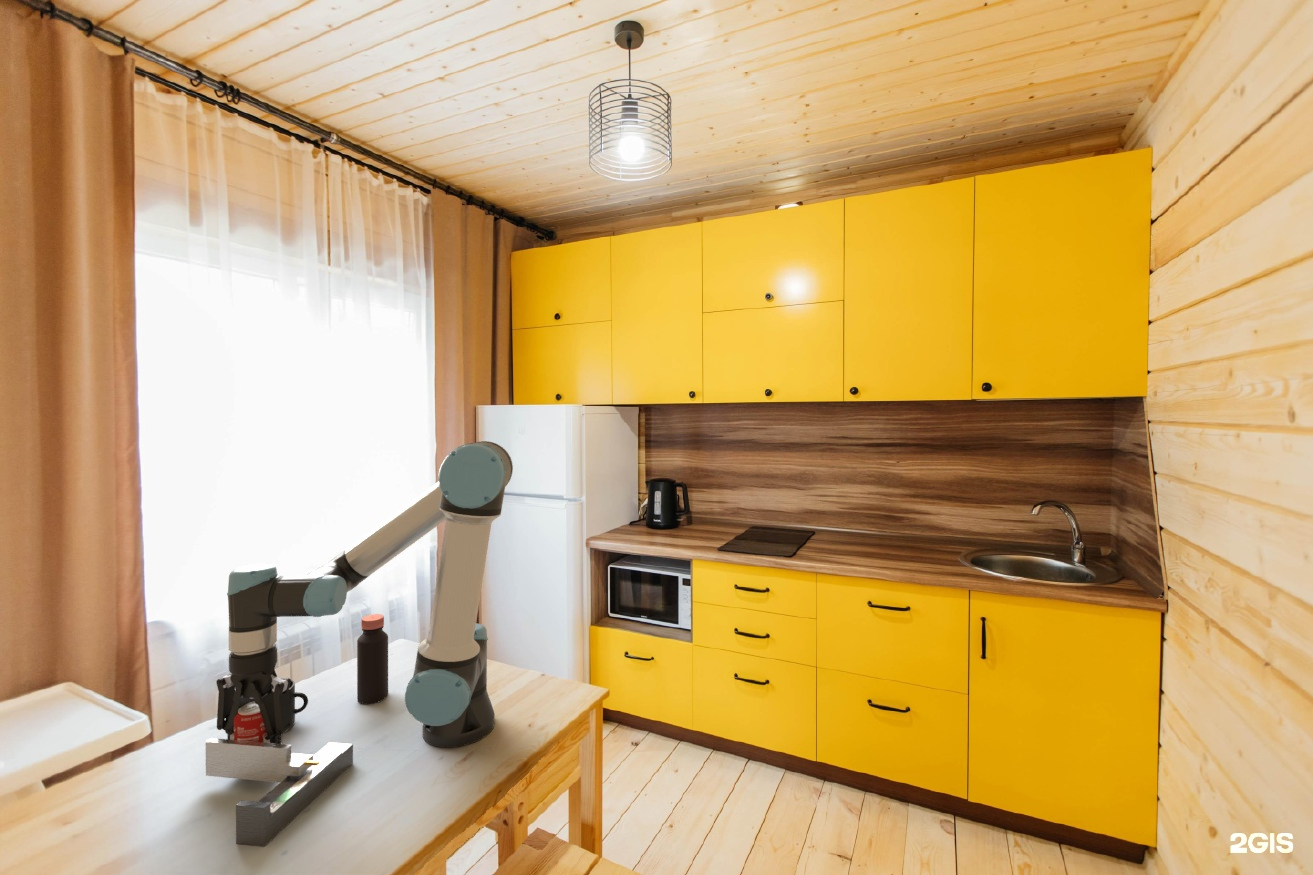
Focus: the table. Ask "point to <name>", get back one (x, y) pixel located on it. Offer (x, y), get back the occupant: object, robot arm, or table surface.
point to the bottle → (372, 661)
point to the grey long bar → (290, 796)
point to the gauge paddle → (254, 760)
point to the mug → (292, 701)
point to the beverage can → (249, 724)
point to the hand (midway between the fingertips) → (254, 765)
